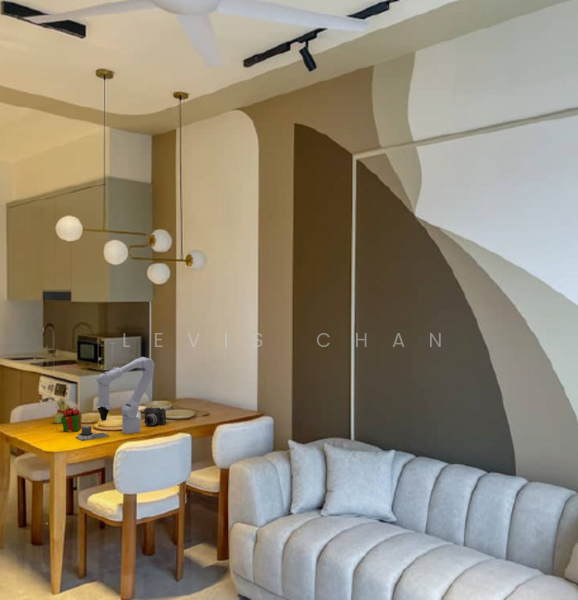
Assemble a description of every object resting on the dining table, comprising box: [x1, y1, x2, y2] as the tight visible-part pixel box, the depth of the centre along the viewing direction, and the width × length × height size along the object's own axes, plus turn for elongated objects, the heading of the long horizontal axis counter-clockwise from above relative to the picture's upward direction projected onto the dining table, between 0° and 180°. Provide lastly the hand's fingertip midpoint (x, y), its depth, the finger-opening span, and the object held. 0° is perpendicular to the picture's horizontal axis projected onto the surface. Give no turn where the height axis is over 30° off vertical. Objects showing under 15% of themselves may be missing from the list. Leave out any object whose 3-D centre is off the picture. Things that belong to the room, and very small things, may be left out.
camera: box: [143, 406, 167, 427], centre depth 355 cm, size 14×11×10 cm
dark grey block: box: [81, 425, 92, 436], centre depth 320 cm, size 5×5×6 cm
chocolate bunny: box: [52, 397, 72, 425], centre depth 357 cm, size 7×11×15 cm, turn 137°
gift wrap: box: [51, 406, 88, 434], centre depth 333 cm, size 20×19×14 cm
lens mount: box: [74, 431, 111, 442], centre depth 322 cm, size 16×10×3 cm, turn 131°
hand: (103, 420), depth 324 cm, fingers closed
